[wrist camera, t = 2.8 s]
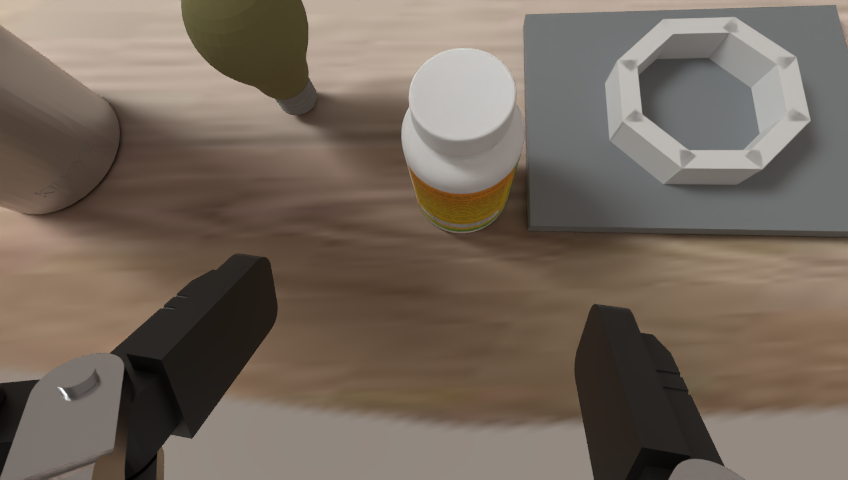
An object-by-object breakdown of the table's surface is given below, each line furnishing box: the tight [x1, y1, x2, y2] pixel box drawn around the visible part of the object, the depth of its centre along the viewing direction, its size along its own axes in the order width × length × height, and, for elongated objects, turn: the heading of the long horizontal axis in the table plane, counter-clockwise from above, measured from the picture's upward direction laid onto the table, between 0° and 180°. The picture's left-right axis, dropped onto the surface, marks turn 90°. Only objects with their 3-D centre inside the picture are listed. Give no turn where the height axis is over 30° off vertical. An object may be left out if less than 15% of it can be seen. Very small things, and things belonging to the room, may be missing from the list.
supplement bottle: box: [401, 48, 525, 233], centre depth 20 cm, size 5×5×10 cm
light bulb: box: [181, 0, 317, 115], centre depth 22 cm, size 6×6×10 cm
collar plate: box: [523, 5, 848, 237], centre depth 23 cm, size 18×14×3 cm
